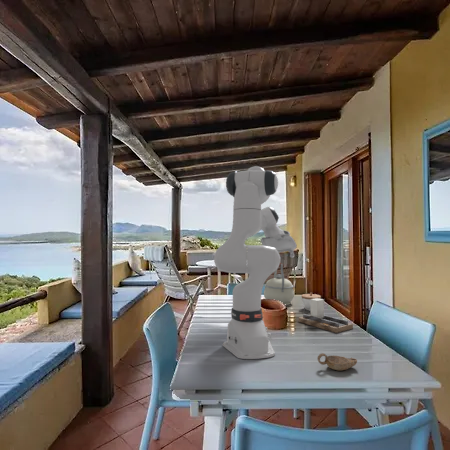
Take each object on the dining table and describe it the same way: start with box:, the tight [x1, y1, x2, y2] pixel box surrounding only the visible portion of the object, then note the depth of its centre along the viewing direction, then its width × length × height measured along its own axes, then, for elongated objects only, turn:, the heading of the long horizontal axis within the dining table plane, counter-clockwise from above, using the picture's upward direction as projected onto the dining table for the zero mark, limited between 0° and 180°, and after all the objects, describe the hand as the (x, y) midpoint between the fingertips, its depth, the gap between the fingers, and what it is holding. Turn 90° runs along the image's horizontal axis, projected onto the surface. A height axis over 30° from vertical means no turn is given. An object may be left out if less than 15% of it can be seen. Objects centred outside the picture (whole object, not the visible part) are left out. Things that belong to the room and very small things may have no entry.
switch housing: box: [298, 313, 354, 334], centre depth 164 cm, size 22×12×4 cm, turn 36°
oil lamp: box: [317, 352, 358, 372], centre depth 114 cm, size 13×8×5 cm, turn 92°
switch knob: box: [310, 298, 325, 319], centre depth 168 cm, size 4×5×9 cm
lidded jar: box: [301, 292, 322, 312], centre depth 196 cm, size 11×11×9 cm
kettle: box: [263, 262, 295, 306], centre depth 213 cm, size 25×18×25 cm
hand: (286, 258), depth 179 cm, fingers open, 8 cm apart
